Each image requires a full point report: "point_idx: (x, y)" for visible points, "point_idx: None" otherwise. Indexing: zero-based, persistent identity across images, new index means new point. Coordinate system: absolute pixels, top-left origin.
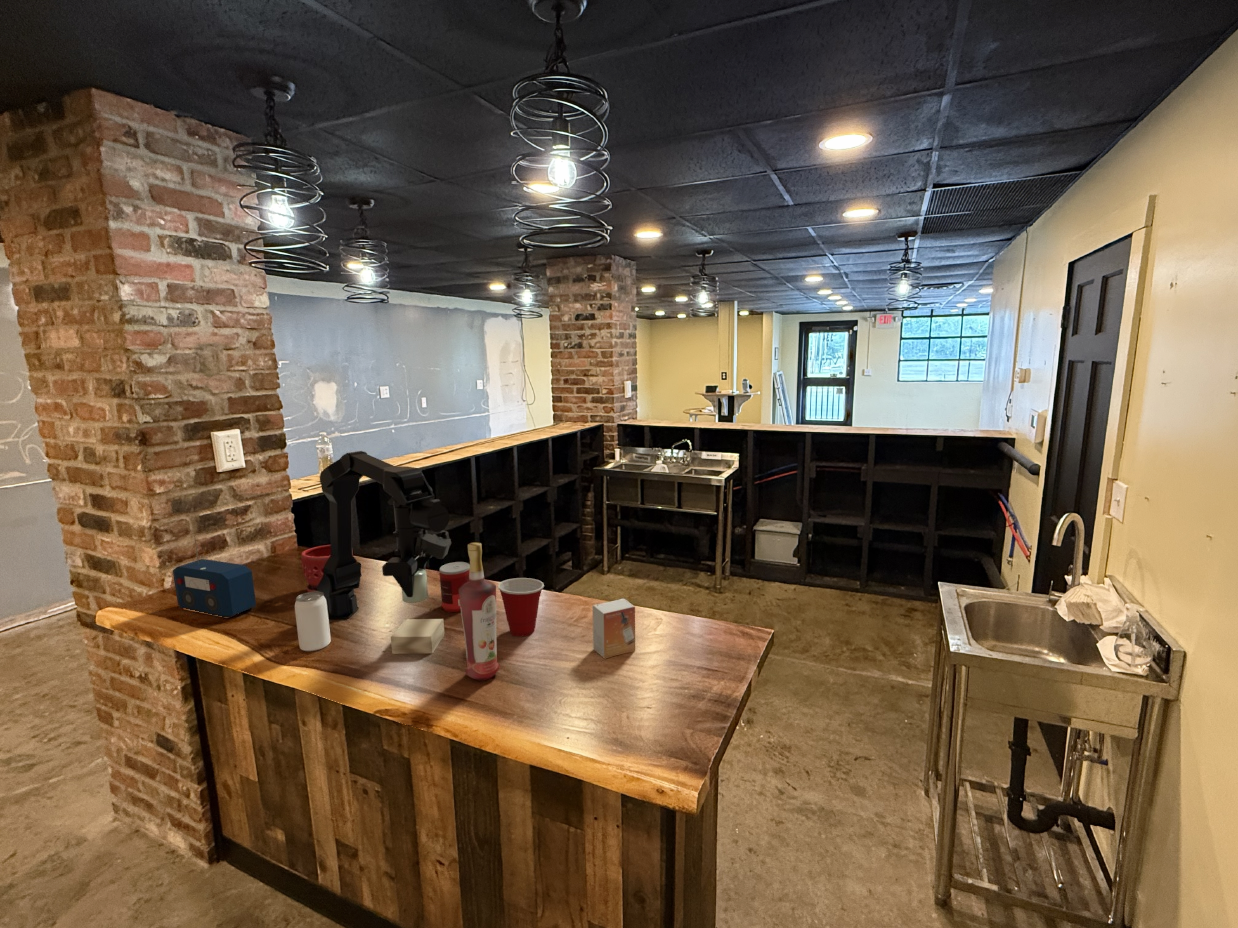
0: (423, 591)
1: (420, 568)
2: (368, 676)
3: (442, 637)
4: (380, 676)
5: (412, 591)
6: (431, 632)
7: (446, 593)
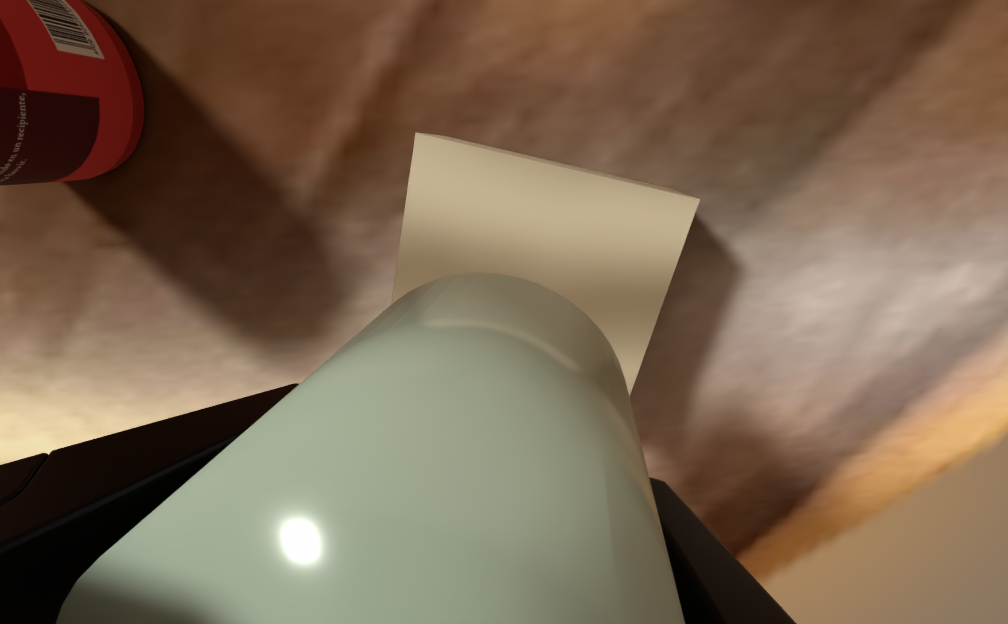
0: (589, 358)
1: (20, 616)
2: (805, 468)
3: (485, 145)
4: (832, 421)
5: (712, 536)
6: (632, 202)
7: (16, 137)
